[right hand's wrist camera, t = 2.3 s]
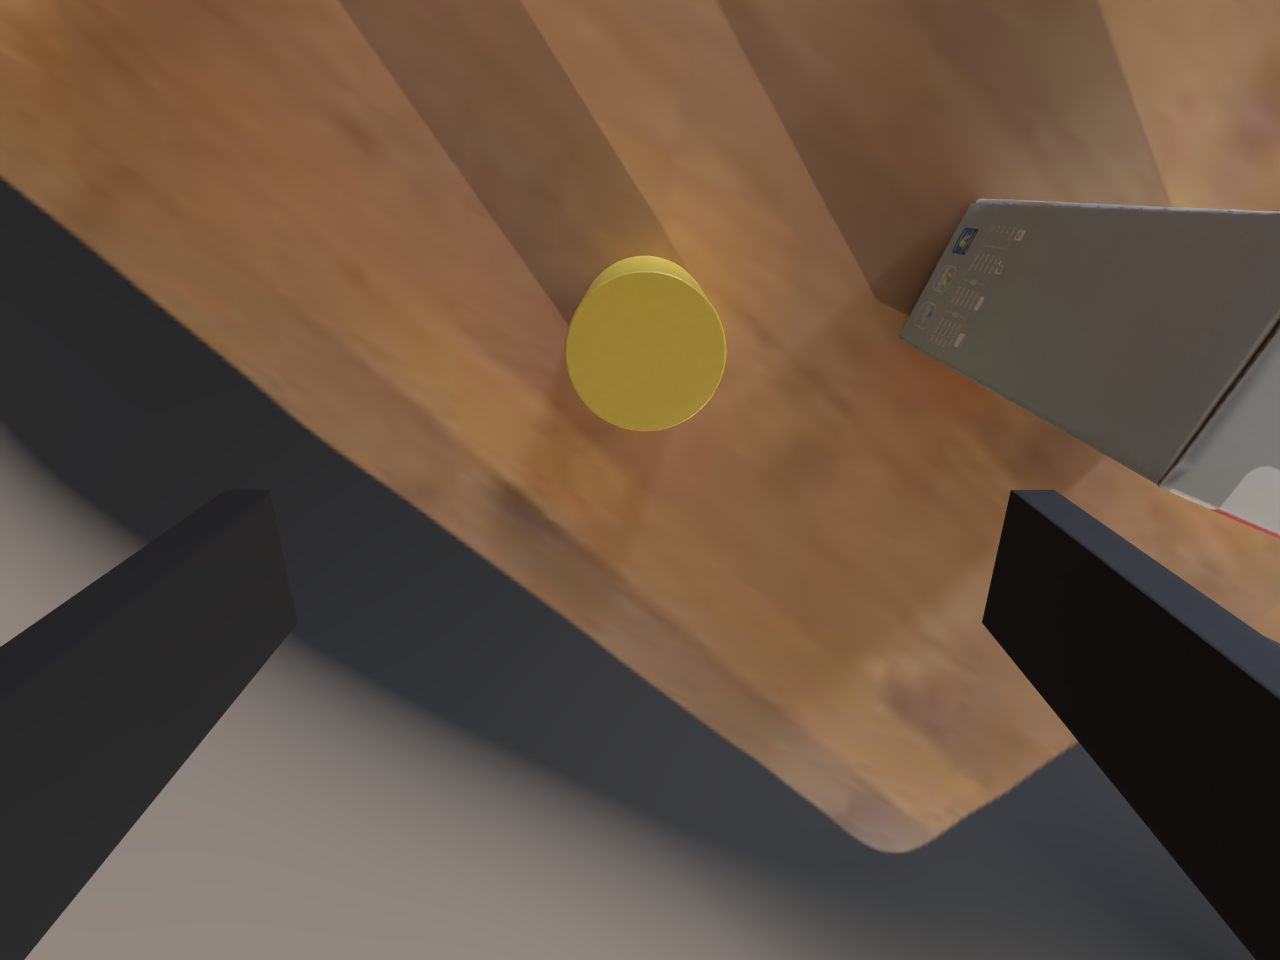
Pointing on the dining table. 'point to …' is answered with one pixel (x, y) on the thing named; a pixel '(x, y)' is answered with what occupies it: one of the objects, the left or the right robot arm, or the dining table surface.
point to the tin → (645, 345)
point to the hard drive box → (1125, 336)
